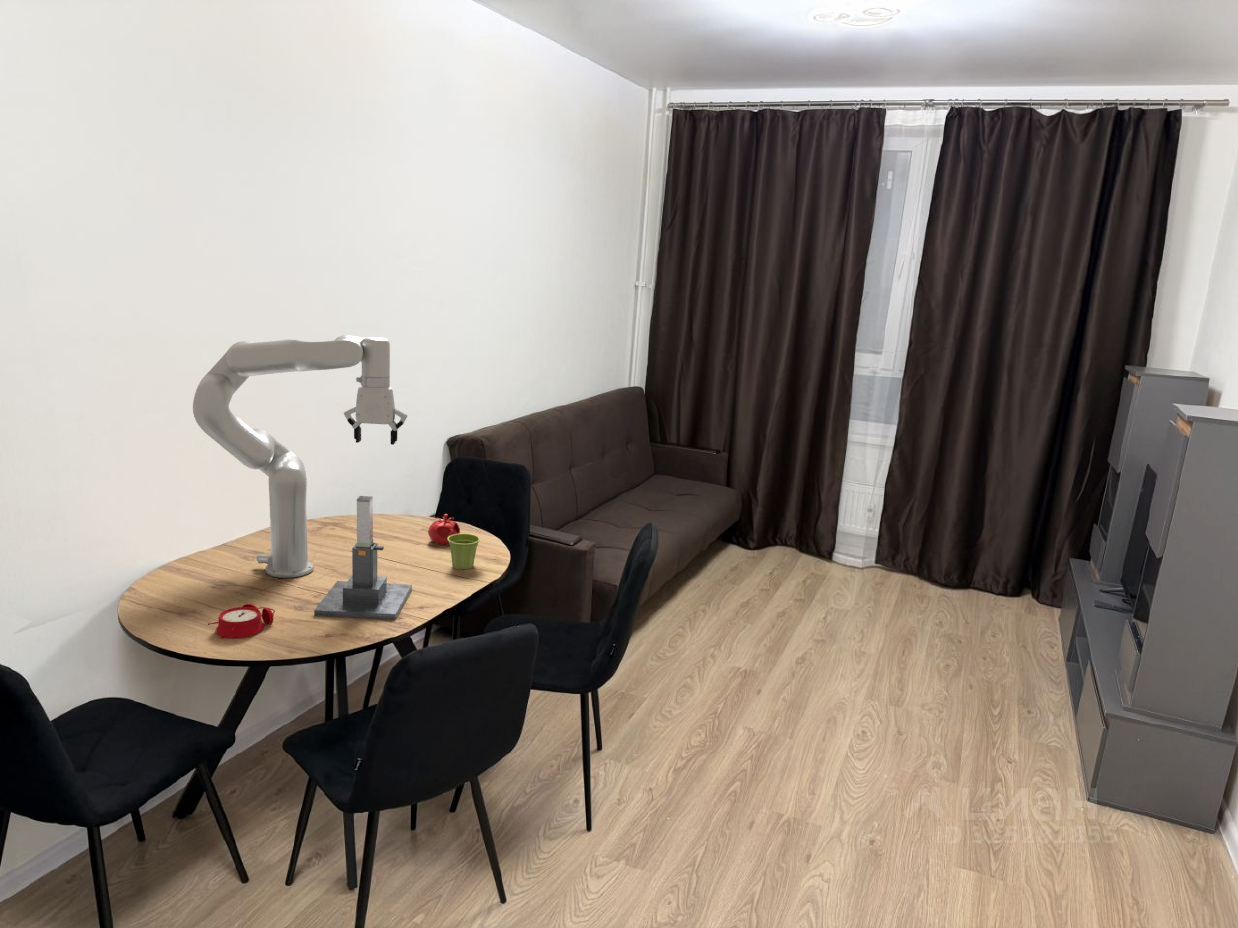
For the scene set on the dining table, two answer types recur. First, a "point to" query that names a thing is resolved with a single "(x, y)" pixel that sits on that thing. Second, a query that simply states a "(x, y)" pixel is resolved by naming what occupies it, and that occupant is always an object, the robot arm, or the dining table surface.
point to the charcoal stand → (364, 591)
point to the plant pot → (463, 550)
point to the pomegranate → (443, 530)
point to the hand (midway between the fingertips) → (375, 442)
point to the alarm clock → (243, 621)
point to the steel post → (364, 522)
